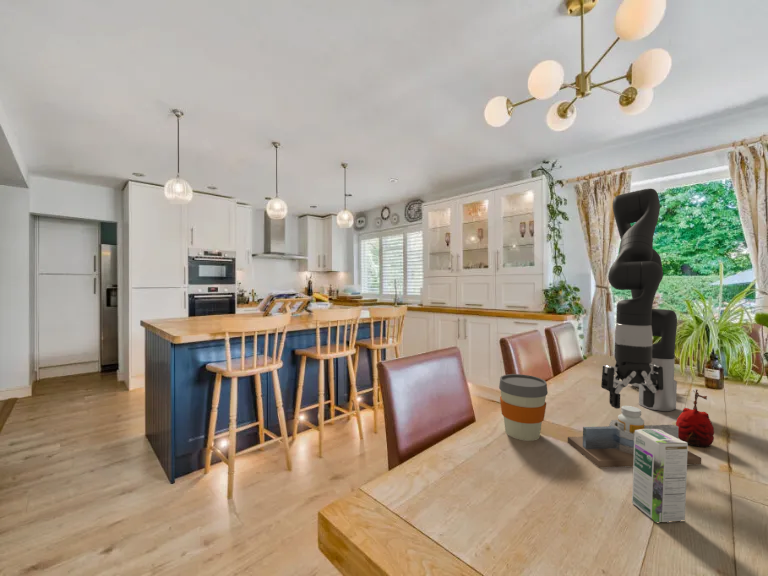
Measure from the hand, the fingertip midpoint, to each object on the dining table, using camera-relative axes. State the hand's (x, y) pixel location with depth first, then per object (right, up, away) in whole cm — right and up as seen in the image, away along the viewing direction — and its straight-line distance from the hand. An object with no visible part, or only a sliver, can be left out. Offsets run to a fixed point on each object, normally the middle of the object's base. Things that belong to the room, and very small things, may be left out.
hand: (631, 407), depth 84 cm
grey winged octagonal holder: (0, -10, 0) cm, 10 cm away
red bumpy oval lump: (+21, -12, +6) cm, 24 cm away
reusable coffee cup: (-23, -11, +11) cm, 28 cm away
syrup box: (-11, -12, -21) cm, 27 cm away
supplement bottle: (0, -10, 0) cm, 10 cm away
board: (0, -12, 0) cm, 12 cm away
